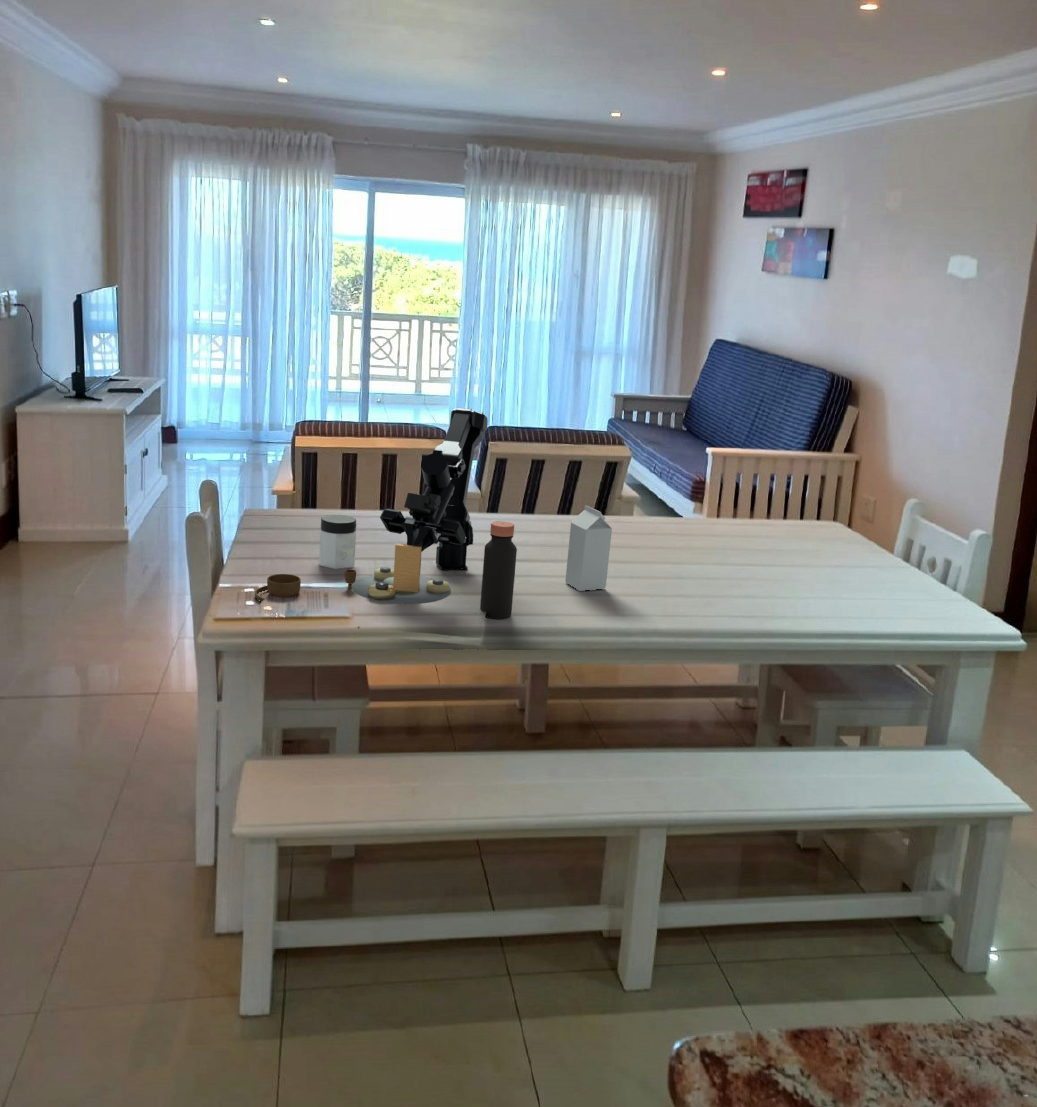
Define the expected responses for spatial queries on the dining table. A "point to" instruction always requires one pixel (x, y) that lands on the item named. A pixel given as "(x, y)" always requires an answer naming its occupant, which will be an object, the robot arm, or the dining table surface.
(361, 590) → the plate
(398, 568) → the wooden slab
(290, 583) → the place setting
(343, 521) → the jar
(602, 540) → the milk carton
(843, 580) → the dining table surface
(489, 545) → the bottle
